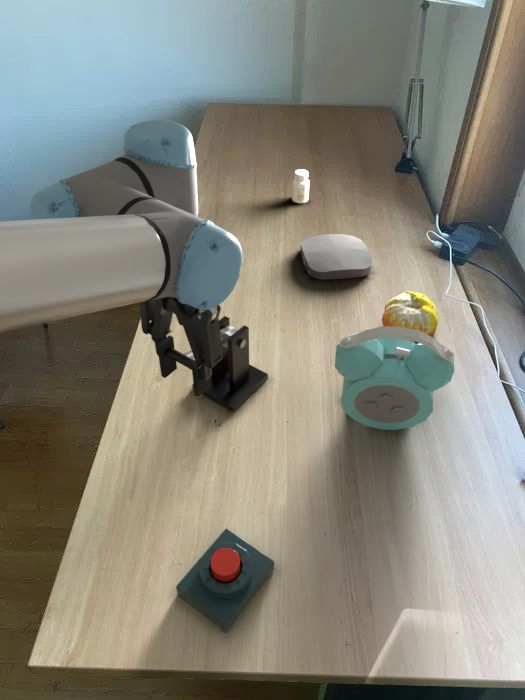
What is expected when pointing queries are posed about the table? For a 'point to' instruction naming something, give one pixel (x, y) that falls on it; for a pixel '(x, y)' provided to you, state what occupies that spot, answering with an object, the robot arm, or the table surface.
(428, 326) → the fruit
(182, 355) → the lever
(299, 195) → the pill bottle
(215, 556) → the button
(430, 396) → the alarm clock
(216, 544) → the button box
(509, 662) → the table surface
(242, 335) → the bracket
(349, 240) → the media streaming box
